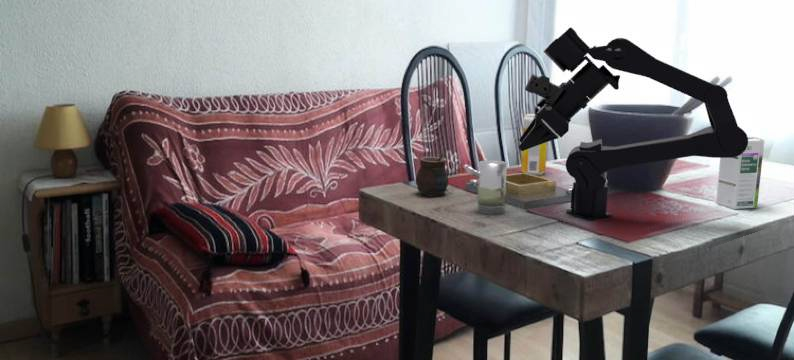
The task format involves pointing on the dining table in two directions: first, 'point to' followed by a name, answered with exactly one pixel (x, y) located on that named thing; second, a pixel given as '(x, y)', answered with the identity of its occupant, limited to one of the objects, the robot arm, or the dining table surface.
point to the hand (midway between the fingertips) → (520, 145)
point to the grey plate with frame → (529, 191)
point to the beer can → (533, 153)
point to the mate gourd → (432, 176)
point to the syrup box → (741, 177)
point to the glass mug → (490, 186)
